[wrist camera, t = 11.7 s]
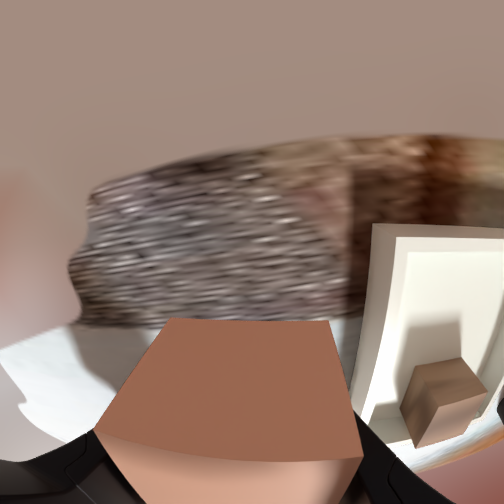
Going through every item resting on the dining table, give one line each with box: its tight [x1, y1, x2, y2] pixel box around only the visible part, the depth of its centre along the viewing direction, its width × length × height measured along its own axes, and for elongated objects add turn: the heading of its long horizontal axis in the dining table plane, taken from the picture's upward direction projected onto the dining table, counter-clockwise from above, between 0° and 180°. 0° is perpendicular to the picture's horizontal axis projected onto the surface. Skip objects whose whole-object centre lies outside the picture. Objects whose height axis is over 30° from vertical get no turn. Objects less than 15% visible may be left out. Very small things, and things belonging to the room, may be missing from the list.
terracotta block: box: [93, 318, 364, 504], centre depth 7 cm, size 5×5×5 cm
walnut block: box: [399, 357, 488, 449], centre depth 16 cm, size 5×5×5 cm
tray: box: [349, 223, 504, 448], centre depth 16 cm, size 18×15×4 cm
